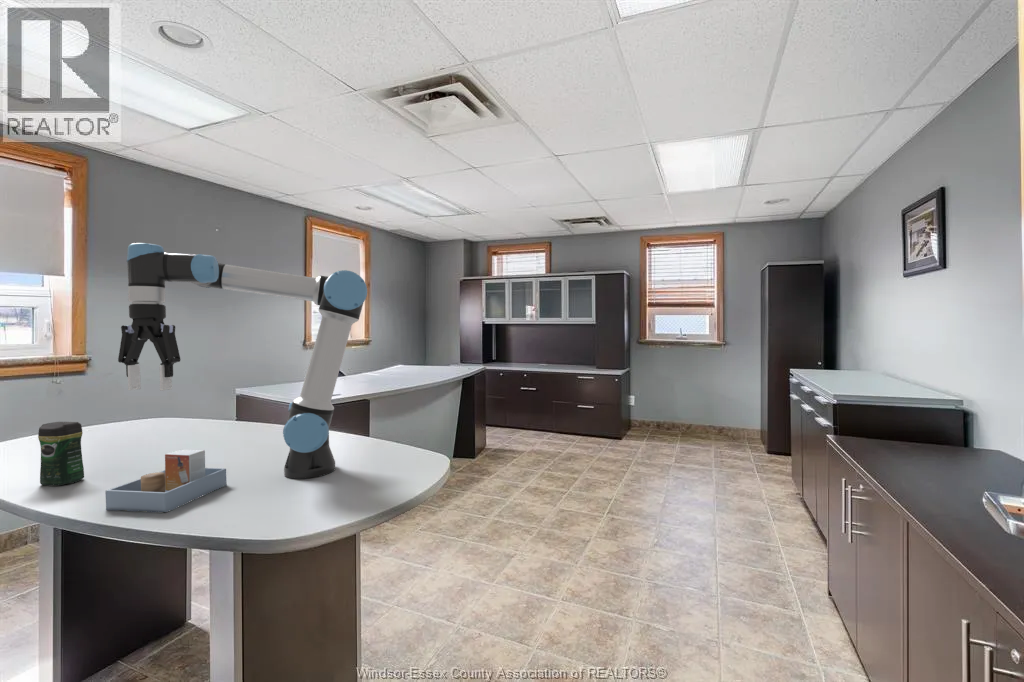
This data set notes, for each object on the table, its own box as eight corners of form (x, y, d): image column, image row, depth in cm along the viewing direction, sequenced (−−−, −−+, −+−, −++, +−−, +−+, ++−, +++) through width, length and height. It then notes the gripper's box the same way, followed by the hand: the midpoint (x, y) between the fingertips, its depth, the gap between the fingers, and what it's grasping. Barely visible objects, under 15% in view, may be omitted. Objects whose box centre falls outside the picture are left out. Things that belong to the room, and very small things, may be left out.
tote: (226, 485, 134) (226, 468, 133) (165, 513, 114) (164, 493, 113) (174, 483, 136) (174, 466, 136) (106, 509, 116) (105, 490, 116)
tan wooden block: (153, 505, 117) (152, 478, 117) (136, 504, 118) (135, 478, 118) (170, 498, 122) (169, 472, 122) (154, 497, 123) (153, 472, 122)
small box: (164, 491, 128) (163, 454, 127) (182, 484, 133) (181, 448, 133) (189, 492, 126) (188, 455, 126) (206, 485, 132) (205, 449, 132)
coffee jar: (90, 478, 141) (88, 419, 141) (62, 487, 133) (60, 424, 133) (62, 477, 142) (60, 419, 142) (33, 486, 134) (31, 424, 134)
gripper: (196, 303, 121) (198, 388, 121) (125, 305, 124) (128, 387, 124) (171, 302, 113) (174, 392, 114) (97, 303, 116) (100, 391, 117)
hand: (150, 389), depth 119 cm, fingers open, 9 cm apart
